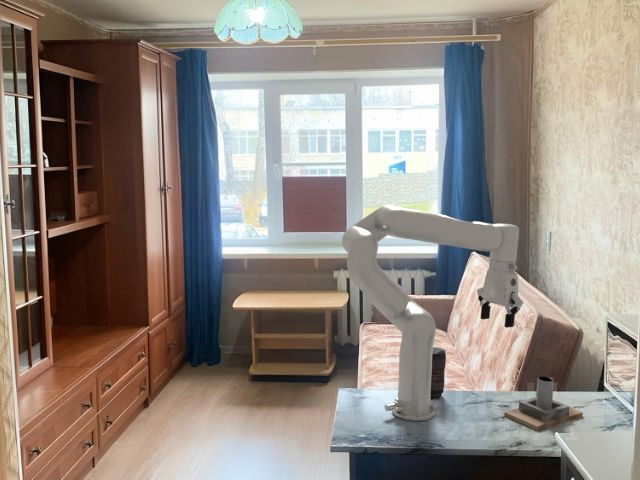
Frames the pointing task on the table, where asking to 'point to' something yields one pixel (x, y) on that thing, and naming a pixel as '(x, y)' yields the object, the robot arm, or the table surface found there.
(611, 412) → the table surface
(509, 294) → the robot arm
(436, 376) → the camera lens
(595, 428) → the table surface
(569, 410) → the socket board
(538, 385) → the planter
